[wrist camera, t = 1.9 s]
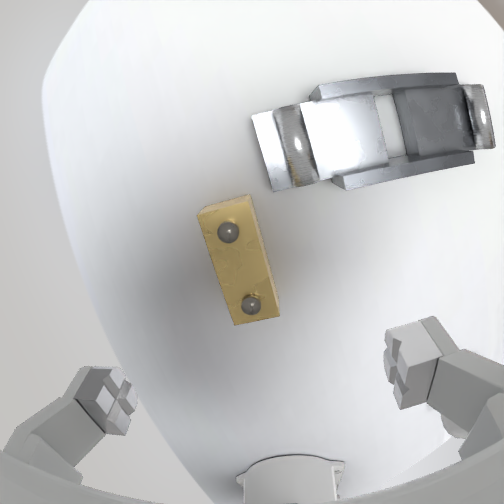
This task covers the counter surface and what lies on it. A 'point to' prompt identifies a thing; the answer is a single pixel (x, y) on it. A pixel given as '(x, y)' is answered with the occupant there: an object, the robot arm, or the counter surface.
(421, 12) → the counter surface
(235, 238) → the gold block with knob
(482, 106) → the linear slide rail
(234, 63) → the counter surface
